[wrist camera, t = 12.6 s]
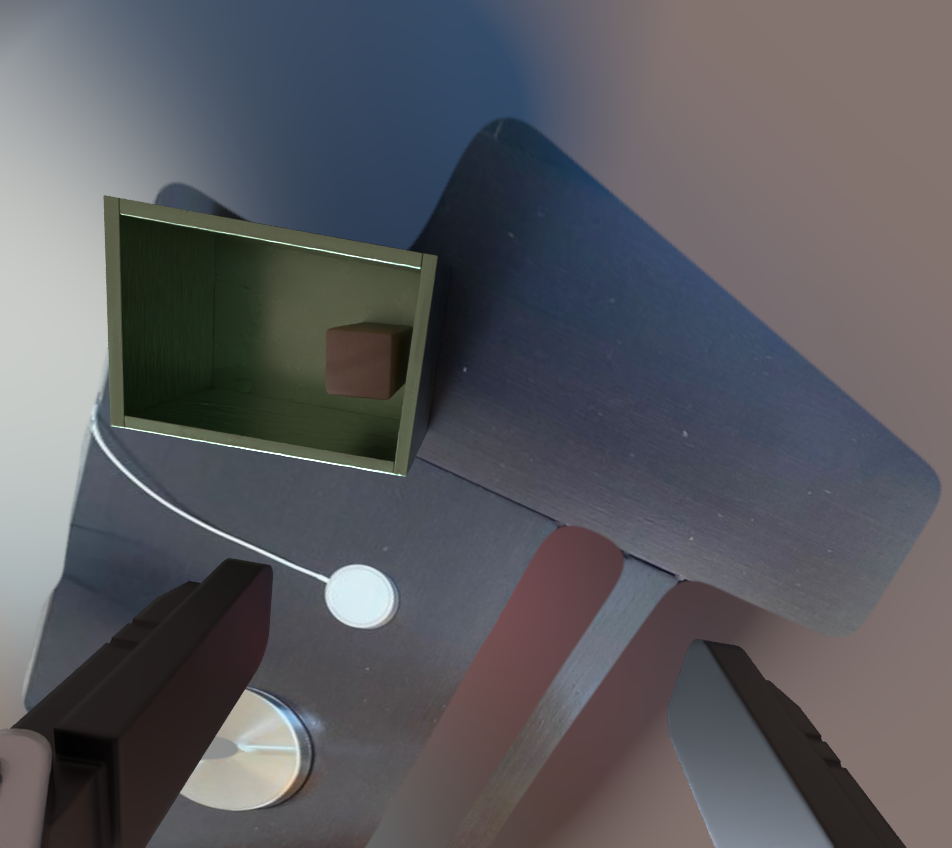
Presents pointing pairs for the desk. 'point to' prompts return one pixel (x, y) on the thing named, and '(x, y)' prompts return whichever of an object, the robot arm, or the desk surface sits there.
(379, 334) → the wooden block
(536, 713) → the desk surface
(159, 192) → the desk surface
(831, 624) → the desk surface
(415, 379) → the waste bin
